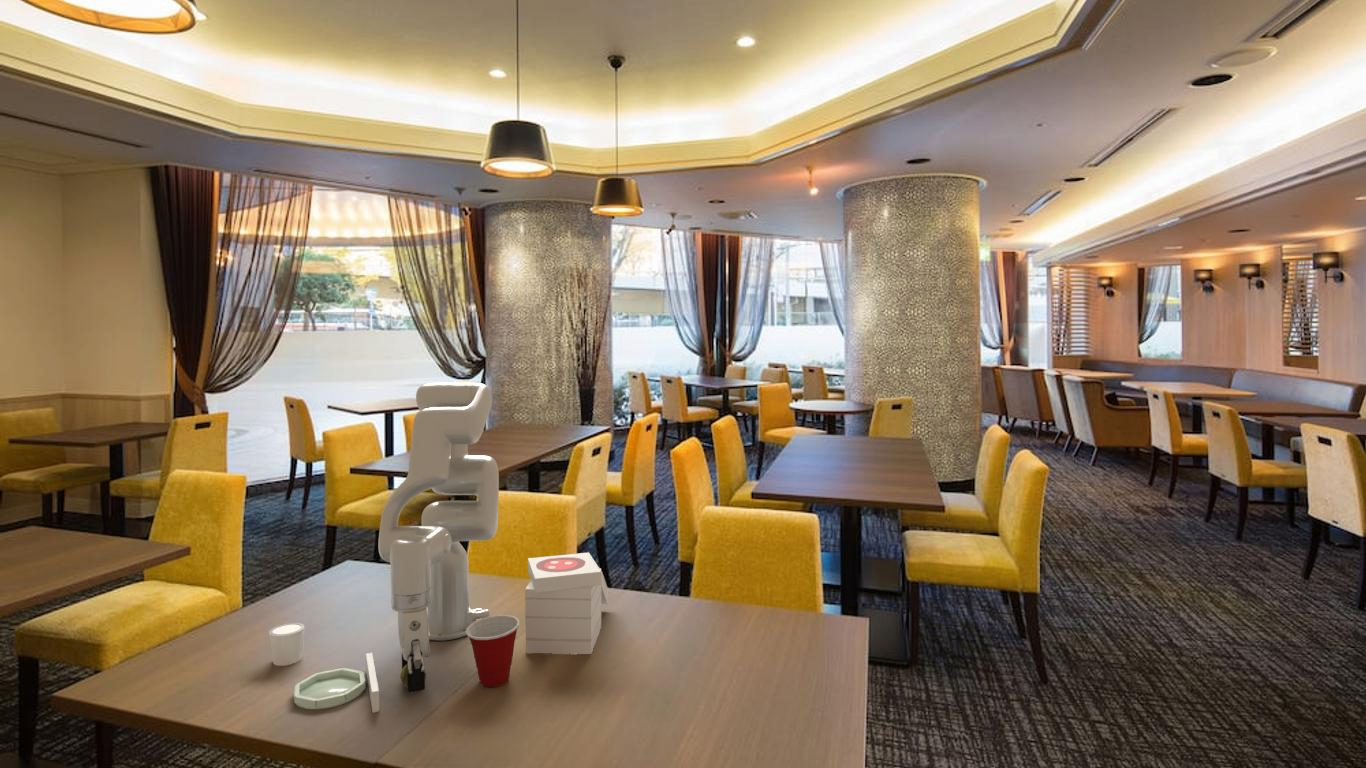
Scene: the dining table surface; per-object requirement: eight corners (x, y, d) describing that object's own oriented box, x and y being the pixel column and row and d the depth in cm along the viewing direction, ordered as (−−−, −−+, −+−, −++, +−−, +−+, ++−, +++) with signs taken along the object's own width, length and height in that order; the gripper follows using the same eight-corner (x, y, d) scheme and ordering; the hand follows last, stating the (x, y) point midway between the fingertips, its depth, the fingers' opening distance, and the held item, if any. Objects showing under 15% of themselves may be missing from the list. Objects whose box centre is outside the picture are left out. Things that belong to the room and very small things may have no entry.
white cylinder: (289, 668, 150) (288, 636, 149) (262, 665, 151) (261, 633, 150) (312, 654, 156) (311, 623, 156) (286, 651, 158) (285, 621, 157)
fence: (372, 670, 149) (372, 652, 148) (379, 711, 133) (378, 690, 133) (366, 672, 148) (365, 653, 148) (372, 712, 132) (371, 692, 132)
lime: (400, 683, 143) (400, 659, 143) (425, 679, 145) (425, 656, 145) (400, 694, 139) (399, 669, 139) (426, 689, 141) (425, 665, 141)
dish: (363, 671, 148) (363, 663, 148) (367, 699, 137) (367, 690, 137) (294, 685, 142) (294, 676, 142) (292, 715, 131) (292, 706, 131)
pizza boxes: (616, 607, 185) (616, 539, 183) (598, 659, 155) (597, 579, 153) (544, 605, 185) (543, 538, 184) (512, 657, 155) (511, 578, 154)
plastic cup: (464, 673, 148) (463, 618, 147) (516, 664, 152) (515, 610, 151) (468, 698, 138) (467, 638, 137) (524, 688, 142) (523, 630, 141)
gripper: (437, 609, 135) (439, 695, 136) (425, 581, 150) (426, 658, 152) (395, 616, 132) (397, 704, 133) (387, 587, 147) (389, 666, 148)
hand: (413, 680), depth 142 cm, fingers open, 9 cm apart
